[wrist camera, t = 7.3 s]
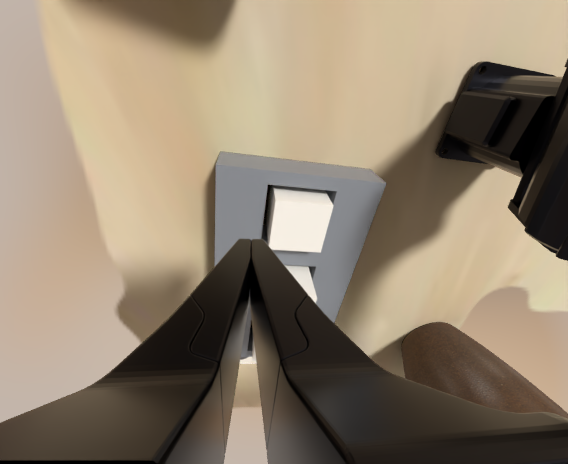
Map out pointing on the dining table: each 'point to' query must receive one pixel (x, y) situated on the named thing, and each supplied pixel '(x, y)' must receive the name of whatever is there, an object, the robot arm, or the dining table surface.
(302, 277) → the button middle
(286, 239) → the button
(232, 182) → the button board
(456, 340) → the plant pot
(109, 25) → the dining table surface
